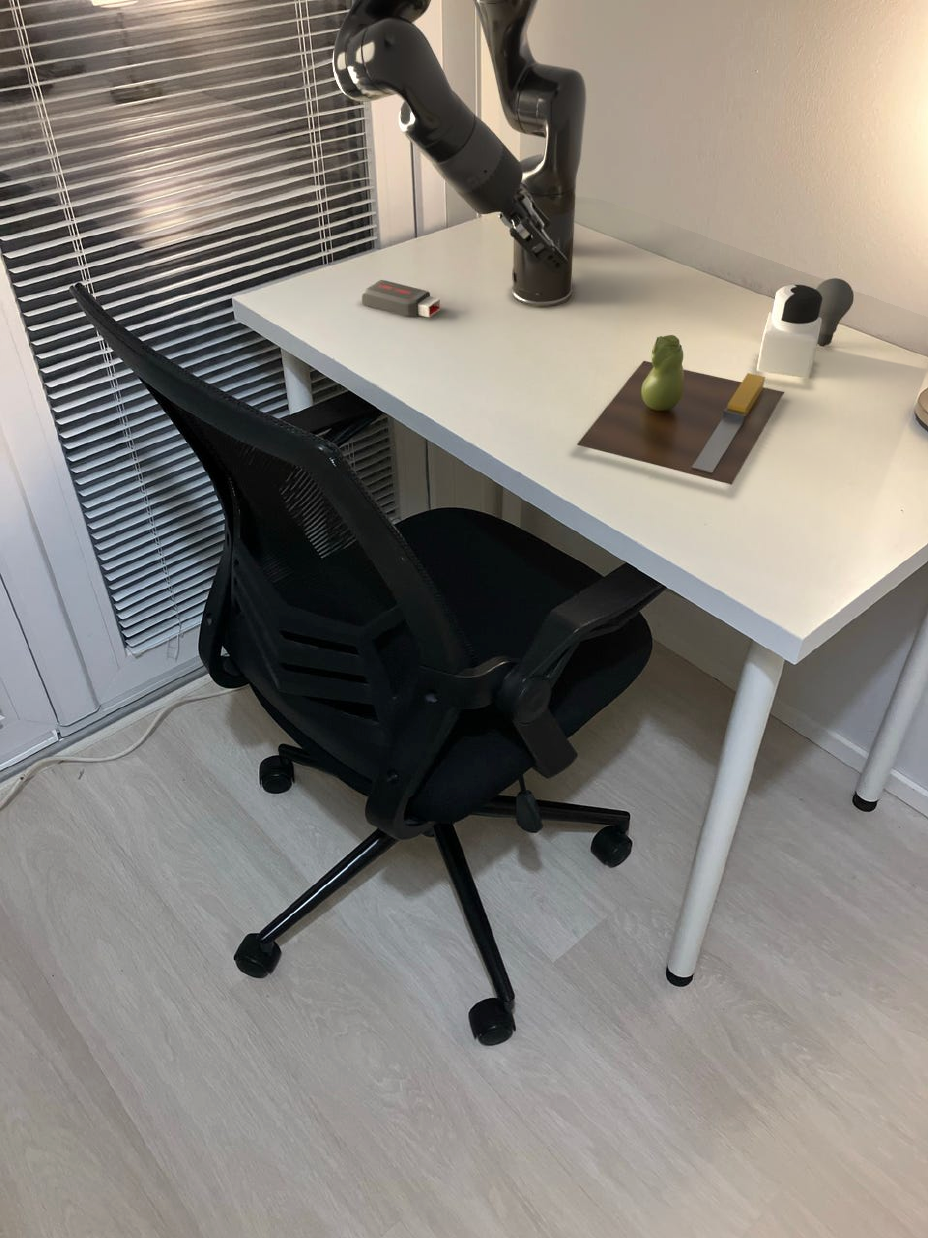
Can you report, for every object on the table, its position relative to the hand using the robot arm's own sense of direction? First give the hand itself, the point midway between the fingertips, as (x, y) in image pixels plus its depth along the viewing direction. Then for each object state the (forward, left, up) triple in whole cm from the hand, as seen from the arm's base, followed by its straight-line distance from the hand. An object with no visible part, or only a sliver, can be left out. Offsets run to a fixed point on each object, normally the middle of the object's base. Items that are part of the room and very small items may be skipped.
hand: (552, 246), depth 133 cm
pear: (+1, +17, -18) cm, 25 cm away
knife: (+2, +26, -18) cm, 32 cm away
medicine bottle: (-18, +28, -20) cm, 39 cm away
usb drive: (-13, -31, -20) cm, 39 cm away
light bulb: (-28, +31, -20) cm, 47 cm away
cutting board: (+2, +20, -20) cm, 28 cm away
